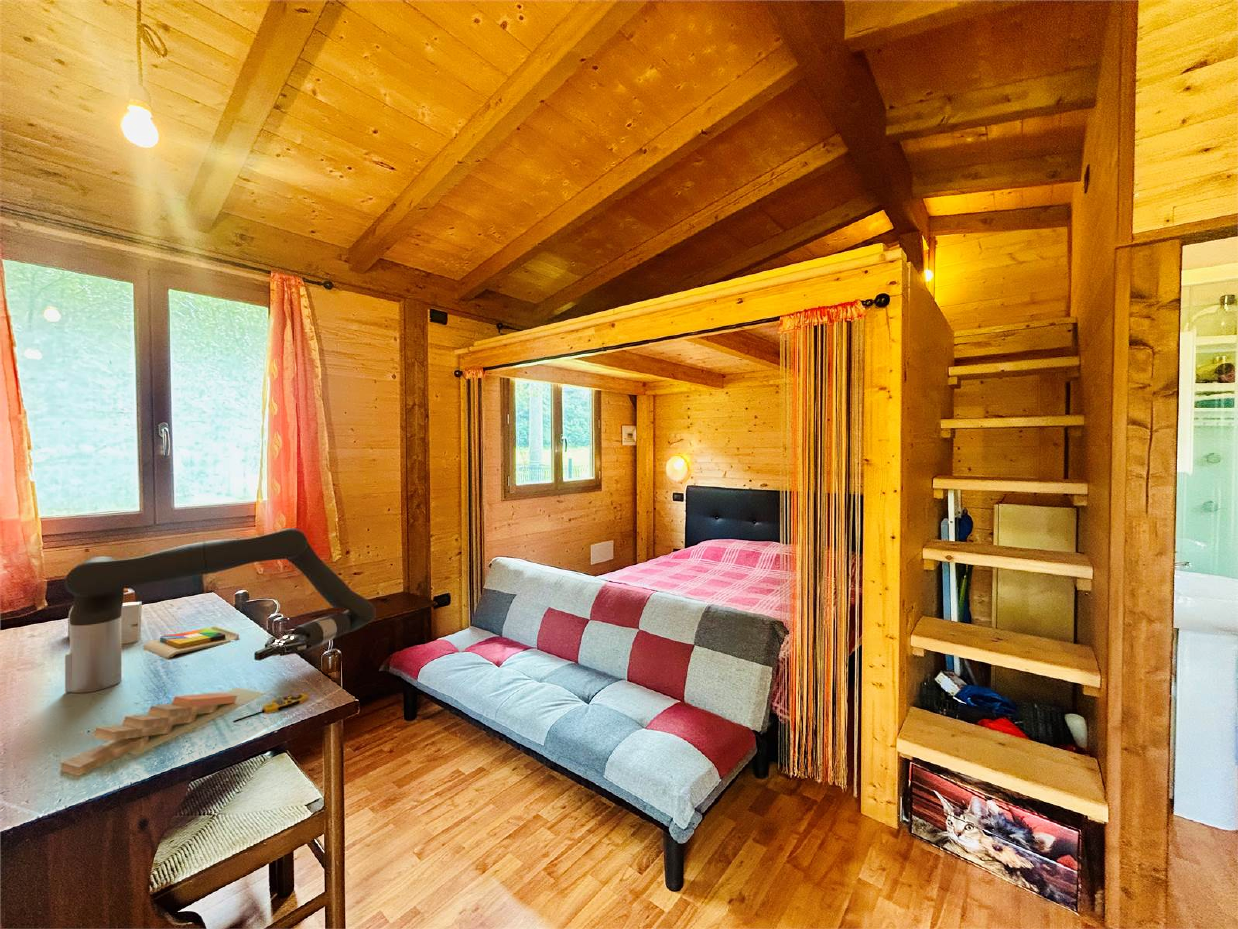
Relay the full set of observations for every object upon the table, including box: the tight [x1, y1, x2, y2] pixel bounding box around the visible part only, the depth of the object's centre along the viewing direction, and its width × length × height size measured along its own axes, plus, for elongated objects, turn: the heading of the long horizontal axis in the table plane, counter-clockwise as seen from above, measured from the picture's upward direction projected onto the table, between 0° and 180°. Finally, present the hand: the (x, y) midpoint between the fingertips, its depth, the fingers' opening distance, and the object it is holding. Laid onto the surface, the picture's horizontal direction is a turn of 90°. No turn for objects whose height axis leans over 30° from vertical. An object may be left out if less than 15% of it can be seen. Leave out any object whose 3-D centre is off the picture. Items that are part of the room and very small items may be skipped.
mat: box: [127, 687, 266, 756], centre depth 114 cm, size 27×10×1 cm, turn 164°
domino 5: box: [171, 692, 237, 707], centre depth 116 cm, size 2×5×11 cm
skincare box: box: [121, 601, 143, 645], centre depth 158 cm, size 6×4×12 cm
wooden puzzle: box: [142, 625, 240, 660], centre depth 157 cm, size 18×19×4 cm
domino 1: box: [60, 736, 148, 777], centre depth 99 cm, size 2×5×11 cm
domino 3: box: [121, 713, 196, 729], centre depth 107 cm, size 2×5×11 cm
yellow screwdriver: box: [232, 692, 309, 723], centre depth 118 cm, size 5×2×15 cm
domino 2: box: [92, 724, 172, 742], centre depth 103 cm, size 2×5×11 cm
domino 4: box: [147, 703, 217, 718], centre depth 112 cm, size 2×5×11 cm
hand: (256, 656), depth 128 cm, fingers closed
